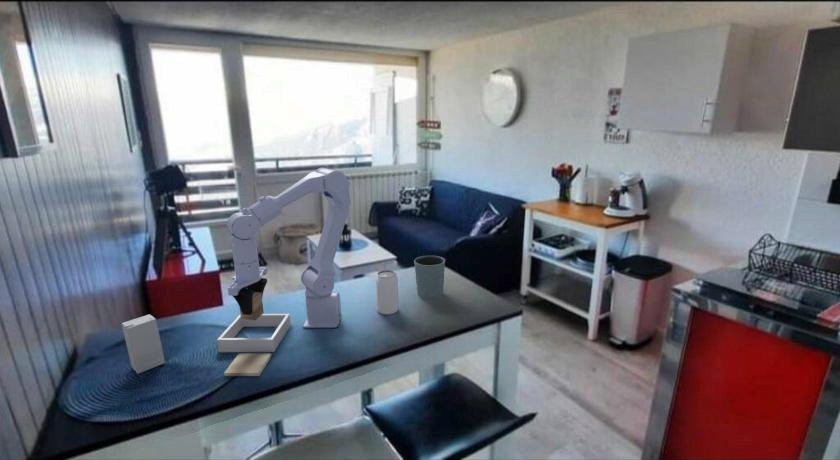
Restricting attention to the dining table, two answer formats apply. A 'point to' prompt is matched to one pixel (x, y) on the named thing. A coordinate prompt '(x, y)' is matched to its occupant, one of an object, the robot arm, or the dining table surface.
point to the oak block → (254, 307)
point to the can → (387, 292)
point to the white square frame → (254, 344)
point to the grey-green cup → (429, 276)
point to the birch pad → (247, 365)
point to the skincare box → (143, 343)
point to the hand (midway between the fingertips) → (252, 310)
